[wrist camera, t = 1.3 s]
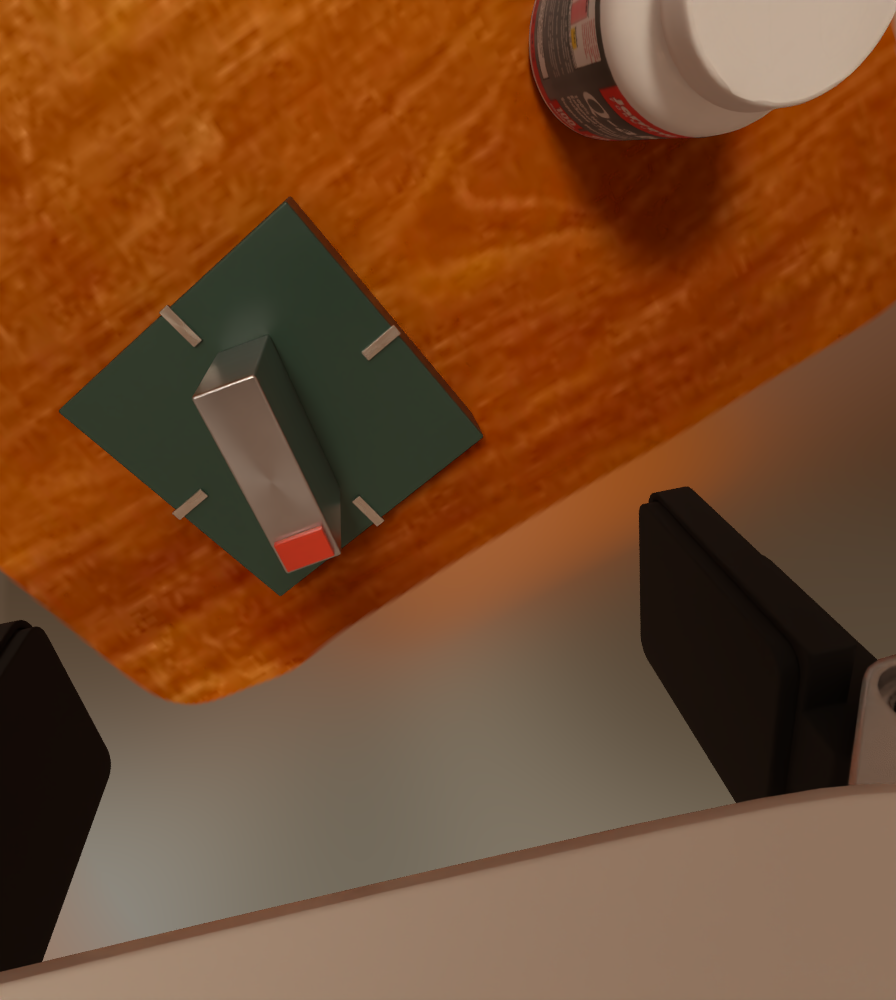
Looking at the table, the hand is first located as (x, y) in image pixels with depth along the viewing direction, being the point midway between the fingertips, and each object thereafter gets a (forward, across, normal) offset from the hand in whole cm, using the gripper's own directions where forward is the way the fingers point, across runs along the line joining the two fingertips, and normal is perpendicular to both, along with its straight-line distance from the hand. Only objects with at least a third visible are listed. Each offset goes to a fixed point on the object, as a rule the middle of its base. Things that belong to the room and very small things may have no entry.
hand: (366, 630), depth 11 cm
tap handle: (+14, +3, +1) cm, 14 cm away
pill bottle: (+16, -10, -8) cm, 21 cm away
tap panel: (+16, +3, +1) cm, 16 cm away
